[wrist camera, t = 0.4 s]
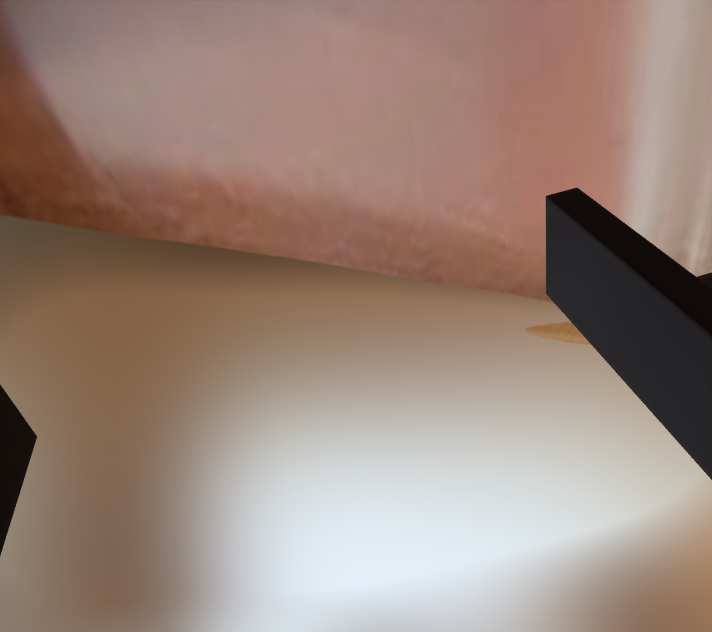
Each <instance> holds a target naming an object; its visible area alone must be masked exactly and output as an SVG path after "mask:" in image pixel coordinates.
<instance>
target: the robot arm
mask: <svg viewBox="0 0 712 632" xmlns="http://www.w3.org/2000/svg"><path fill="white" fill-rule="evenodd" d="M546 294H547V295H548V296H549V297H550V298H551V300H552V301H553V302H554V303H555V304H556V305H557V306H558V307H559V309H560V310H561V311H562V312H563V313H564V314H565V315H566V316H567V317H568V319H569V320H570V321H571V322H572V323H573V324H574V325H575V327H576V328H577V329H578V330H579V331H580V332H581V333H582V334H583V336H584V337H585V338H586V339H587V340H588V341H589V342H590V343H591V345H592V346H593V347H594V348H595V349H596V350H597V351H598V352H599V354H600V355H601V356H602V357H603V358H604V359H605V360H606V361H607V363H609V365H610V366H611V367H612V368H613V369H614V370H615V372H616V373H617V374H618V375H619V376H620V377H621V378H622V379H623V381H624V382H625V383H626V384H627V385H628V386H629V387H630V388H631V389H632V391H633V392H634V393H635V394H636V395H637V396H638V397H639V399H641V401H642V402H643V403H644V404H645V405H646V406H647V408H648V409H649V410H650V411H651V412H652V413H653V414H654V415H655V416H656V418H657V419H658V420H659V421H660V422H661V423H662V424H663V425H664V427H665V428H666V429H667V430H668V431H669V432H670V433H671V435H672V436H673V437H674V438H675V439H676V440H677V441H678V442H679V444H680V445H681V446H682V447H683V448H684V449H685V450H686V451H687V452H688V454H689V455H690V456H691V457H692V458H693V459H694V460H695V461H696V463H697V464H698V465H699V466H700V467H701V468H702V469H703V471H704V472H705V473H706V474H707V475H708V476H709V477H710V478H711V480H712V273H708V274H705V275H701V276H698V277H696V276H694V275H693V274H692V273H690V272H689V271H688V270H686V269H685V268H684V267H682V266H681V265H680V264H678V263H677V262H676V261H674V260H673V259H672V258H670V257H669V256H668V255H666V254H665V253H664V252H662V251H661V250H660V249H658V248H657V247H656V246H654V245H653V244H652V243H650V242H649V241H648V240H646V239H645V238H644V237H642V236H641V235H640V234H638V233H637V232H636V231H634V230H633V229H632V228H630V227H629V226H628V225H626V224H625V223H624V222H622V221H621V220H620V219H618V218H617V217H616V216H614V215H613V214H612V213H610V212H609V211H608V210H606V209H605V208H604V207H602V206H601V205H600V204H598V203H597V202H596V201H594V200H593V199H592V198H590V197H589V196H588V195H586V194H585V193H584V192H582V191H581V190H580V189H578V188H574V189H570V190H566V191H563V192H559V193H555V194H551V195H548V196H546ZM36 439H37V436H36V434H35V433H34V432H33V430H32V429H31V427H30V426H29V425H28V423H27V422H26V421H25V419H24V417H23V416H22V415H21V413H20V412H19V410H18V409H17V408H16V406H15V405H14V403H13V402H12V401H11V399H10V398H9V396H8V395H7V393H6V392H5V391H4V389H3V388H2V387H1V385H0V555H1V552H2V549H3V545H4V542H5V539H6V535H7V533H8V529H9V526H10V523H11V519H12V516H13V513H14V510H15V507H16V503H17V500H18V497H19V494H20V490H21V487H22V484H23V481H24V477H25V474H26V471H27V468H28V464H29V461H30V458H31V455H32V452H33V448H34V445H35V442H36Z"/></svg>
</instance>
